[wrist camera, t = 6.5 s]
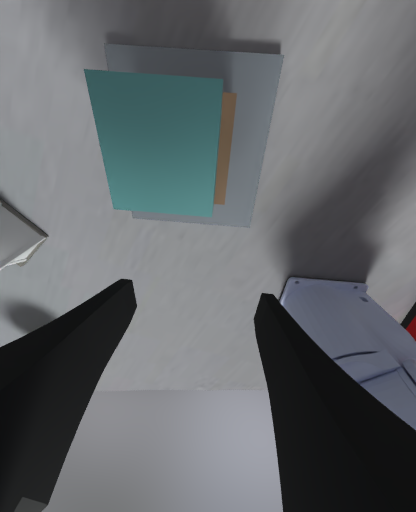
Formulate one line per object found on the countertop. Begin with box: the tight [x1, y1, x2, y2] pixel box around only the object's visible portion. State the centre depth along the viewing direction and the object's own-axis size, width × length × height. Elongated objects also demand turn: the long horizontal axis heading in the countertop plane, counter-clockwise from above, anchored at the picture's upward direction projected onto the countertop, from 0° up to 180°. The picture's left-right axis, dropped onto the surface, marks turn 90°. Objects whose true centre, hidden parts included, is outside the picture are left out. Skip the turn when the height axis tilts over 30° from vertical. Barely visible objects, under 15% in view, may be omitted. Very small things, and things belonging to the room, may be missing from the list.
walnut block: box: [214, 92, 237, 205], centre depth 12 cm, size 6×6×4 cm
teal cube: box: [84, 69, 223, 217], centre depth 9 cm, size 4×4×5 cm
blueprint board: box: [104, 43, 284, 228], centre depth 15 cm, size 12×12×1 cm
